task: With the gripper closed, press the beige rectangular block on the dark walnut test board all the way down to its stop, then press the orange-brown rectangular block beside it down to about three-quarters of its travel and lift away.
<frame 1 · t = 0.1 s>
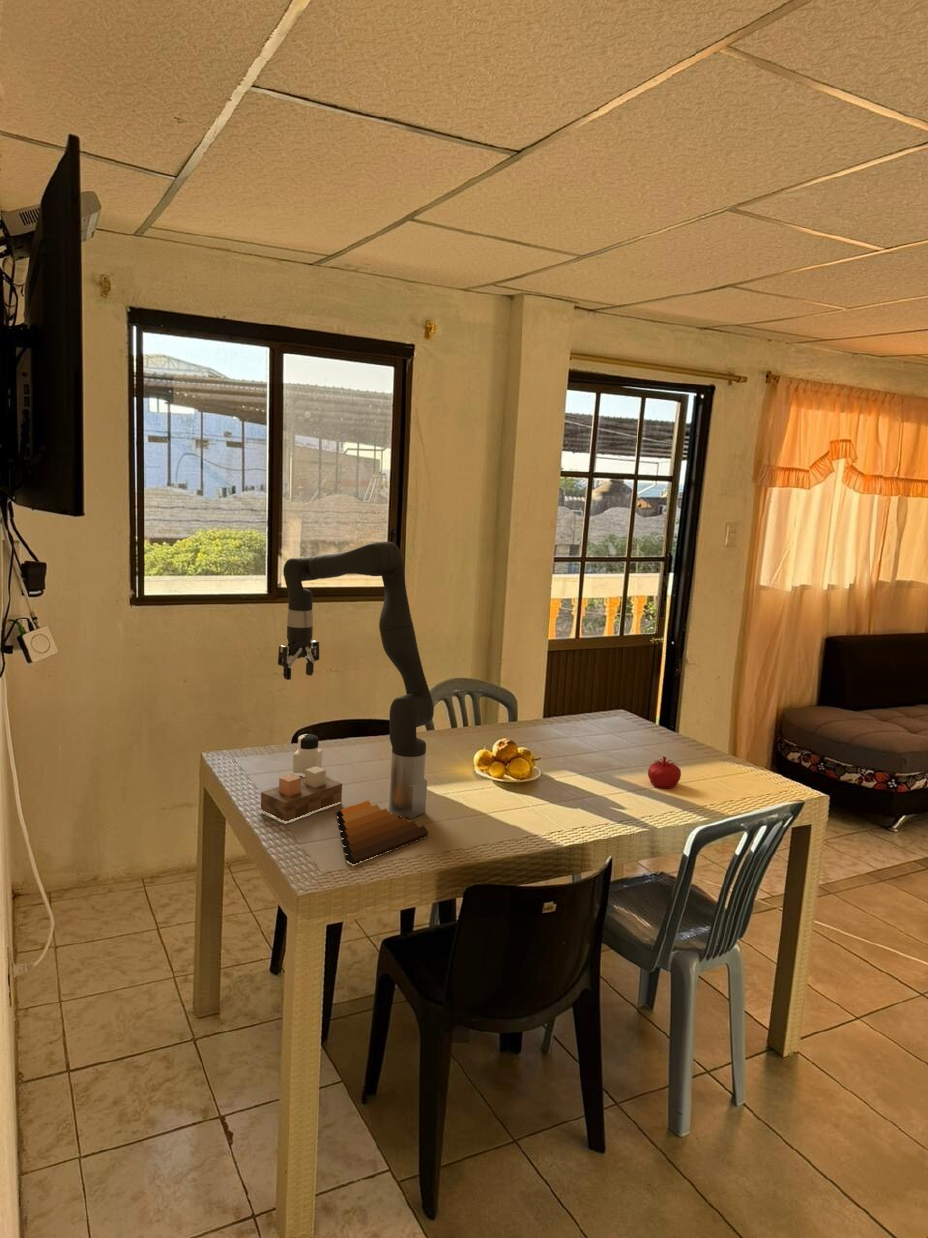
hand: (298, 677, 259), 29 cm above the table, tool pointing down, fingers open, 8 cm apart
pomegranate: (663, 785, 271), on the table
pan flute: (359, 838, 221), on the table
orange-brown rectangular block: (289, 787, 231), point 7 cm above the table, slide at 0.0 cm
medicine bottle: (307, 774, 262), on the table
beige rectangular block: (315, 779, 238), point 7 cm above the table, slide at 0.0 cm
test board: (301, 808, 235), on the table
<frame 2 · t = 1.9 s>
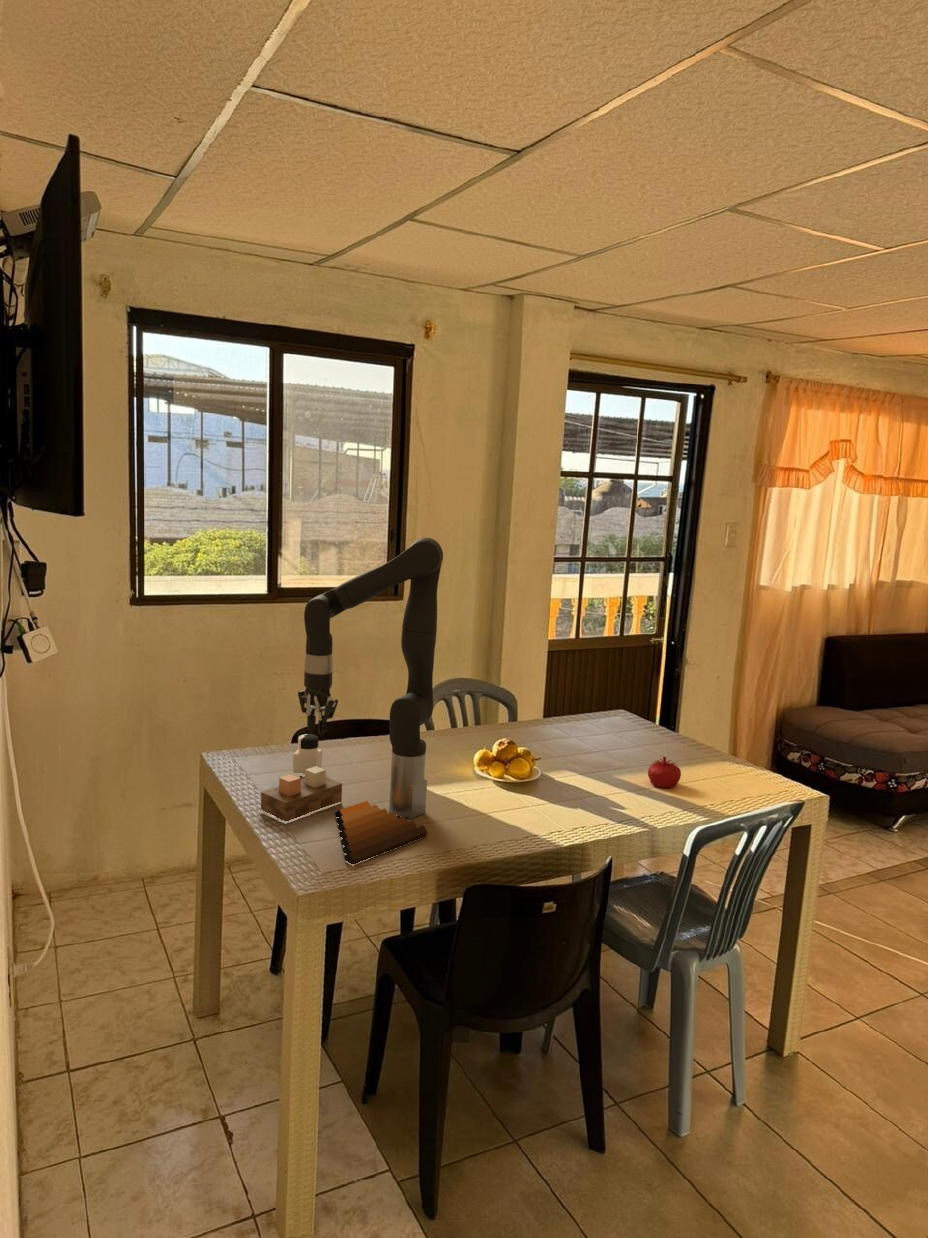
hand: (316, 730, 235), 21 cm above the table, tool pointing down, fingers open, 3 cm apart
nothing on the table moved.
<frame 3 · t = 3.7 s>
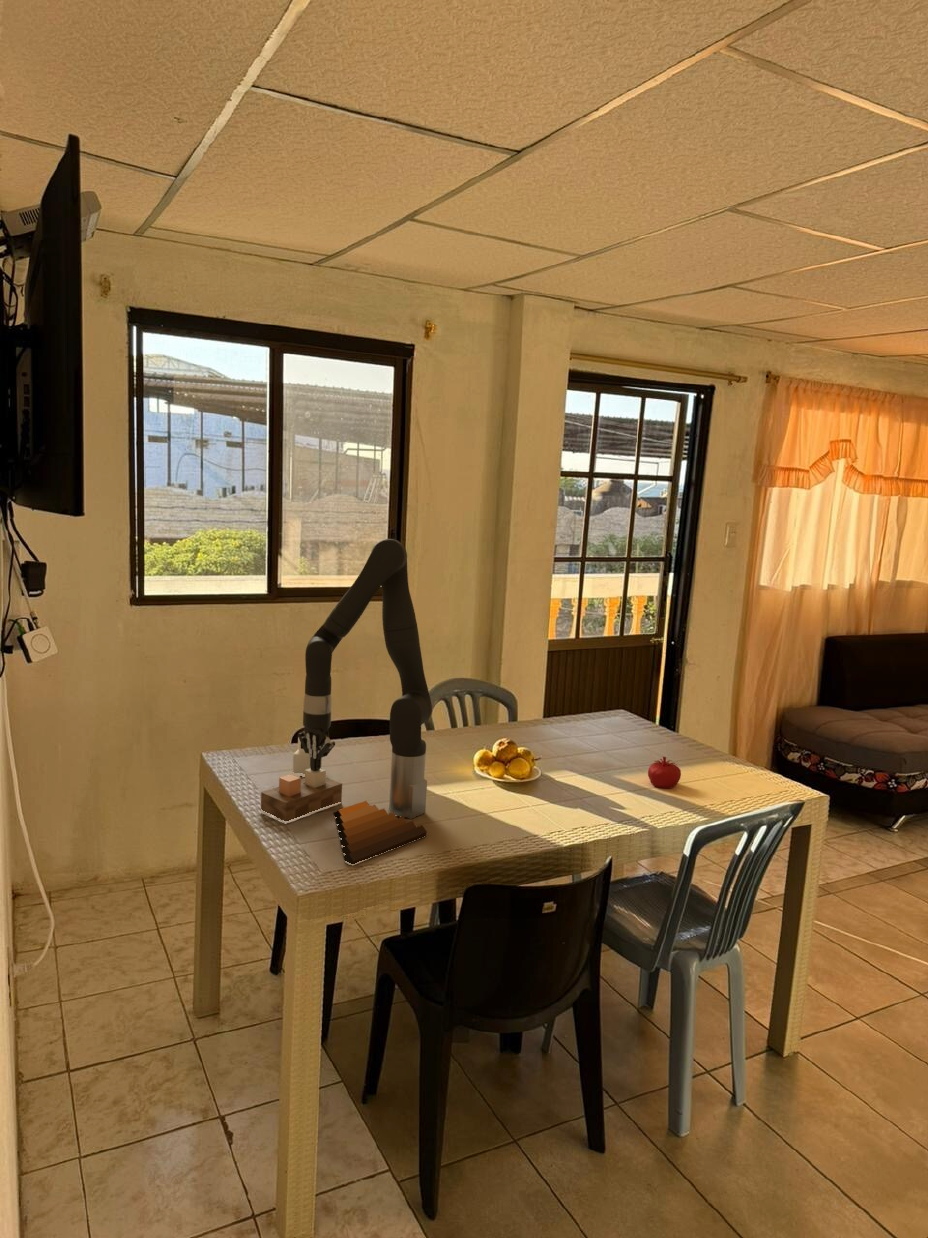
hand: (315, 770, 237), 10 cm above the table, tool pointing down, fingers closed
beige rectangular block: (315, 779, 238), point 7 cm above the table, slide at 0.1 cm, touching gripper
everything else where it was.
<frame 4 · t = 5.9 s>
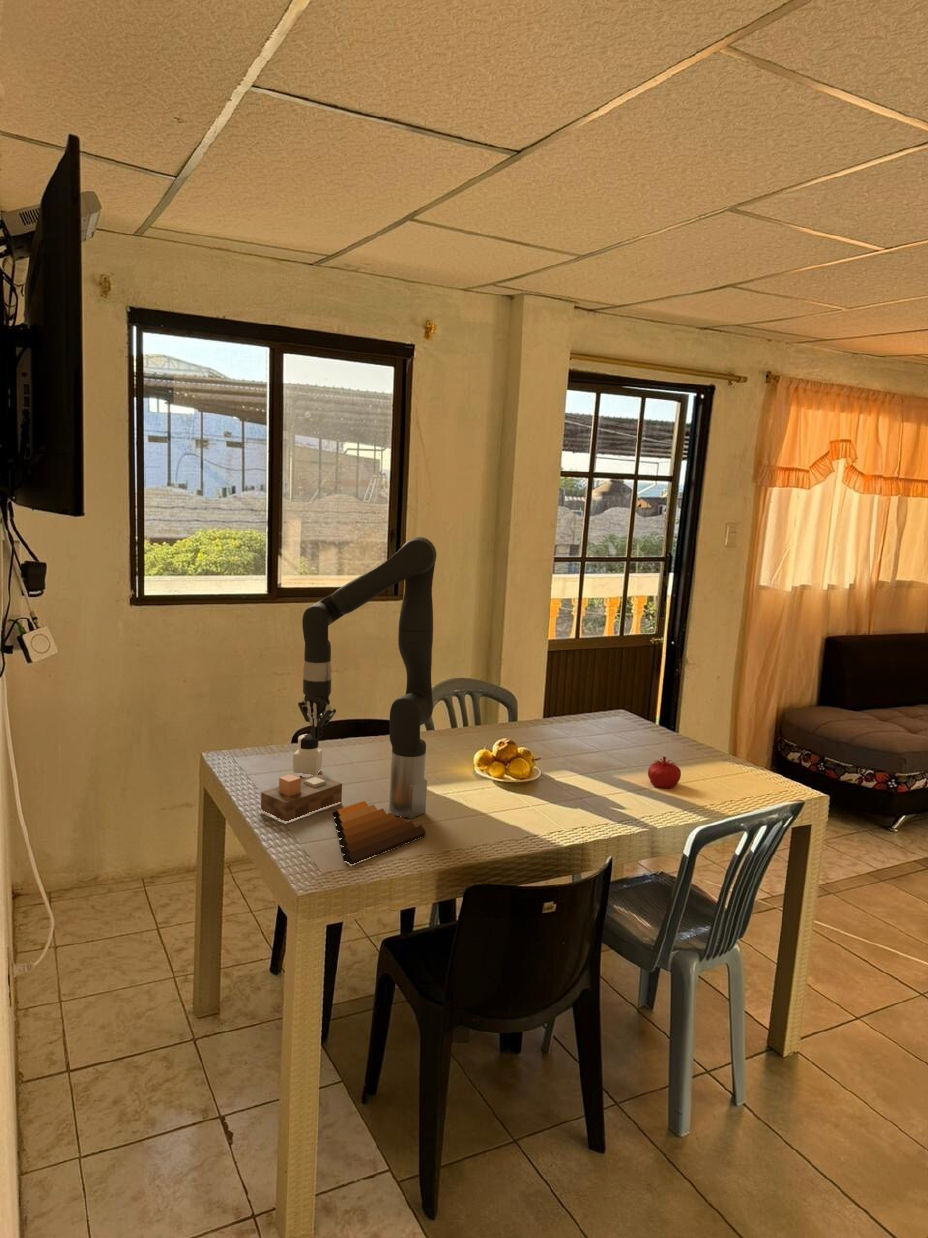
hand: (316, 738, 235), 19 cm above the table, tool pointing down, fingers closed
beige rectangular block: (314, 790, 238), point 4 cm above the table, slide at 3.1 cm
everything else where it was.
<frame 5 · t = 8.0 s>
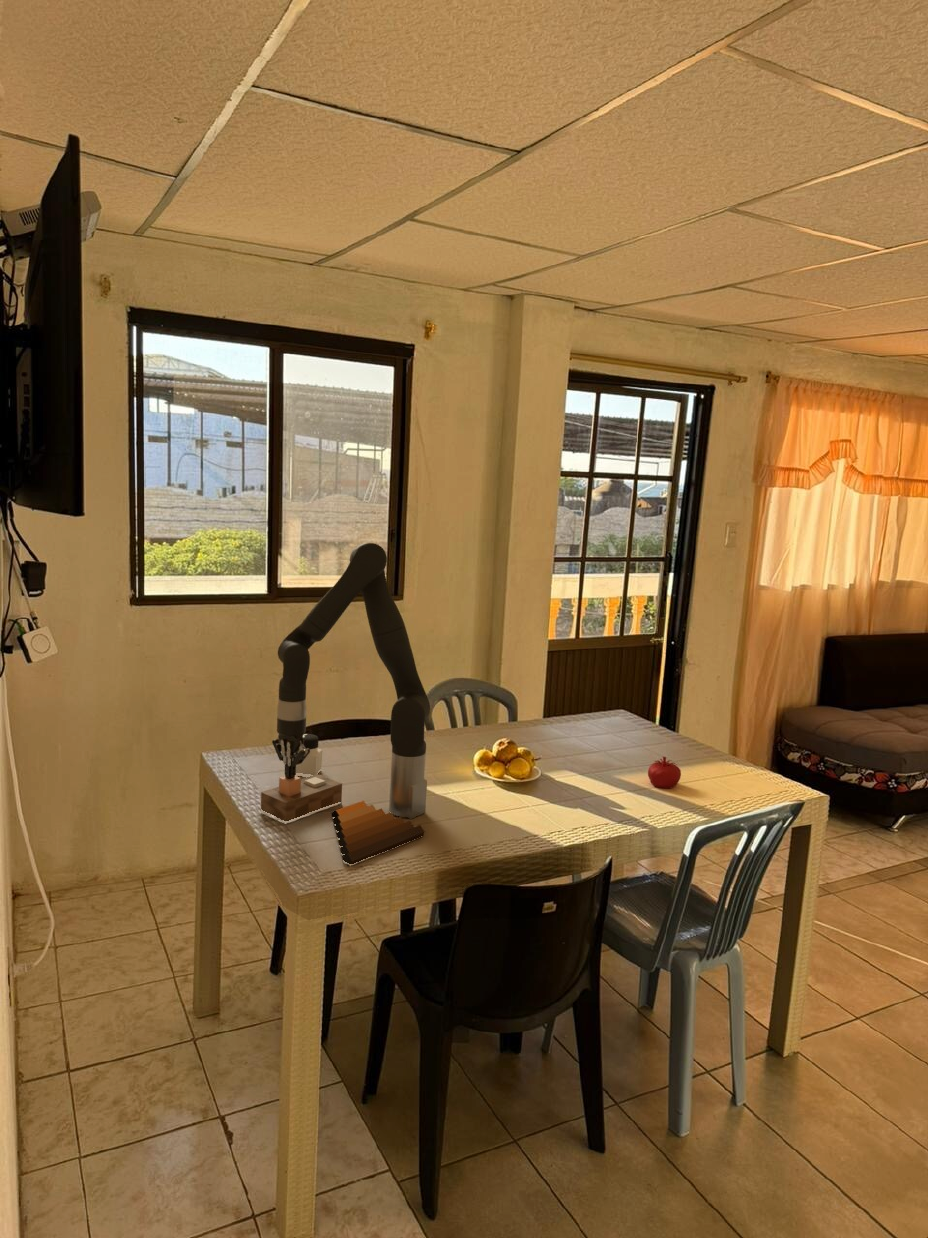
hand: (289, 777, 230), 10 cm above the table, tool pointing down, fingers closed
orange-brown rectangular block: (289, 787, 231), point 7 cm above the table, slide at 0.0 cm, touching gripper
everything else where it was.
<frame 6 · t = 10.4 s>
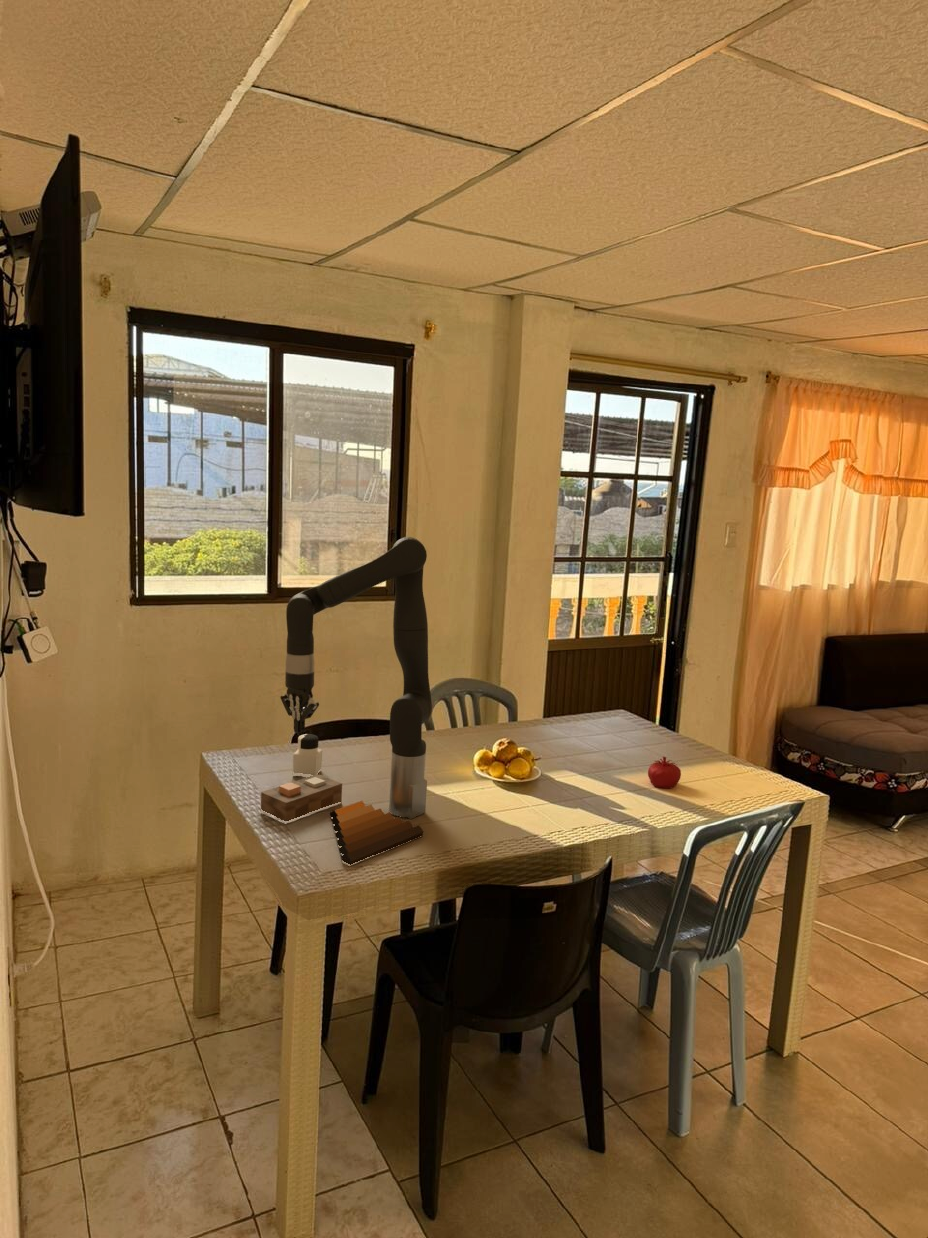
hand: (299, 732, 231), 22 cm above the table, tool pointing down, fingers closed
orange-brown rectangular block: (289, 795, 231), point 5 cm above the table, slide at 2.3 cm
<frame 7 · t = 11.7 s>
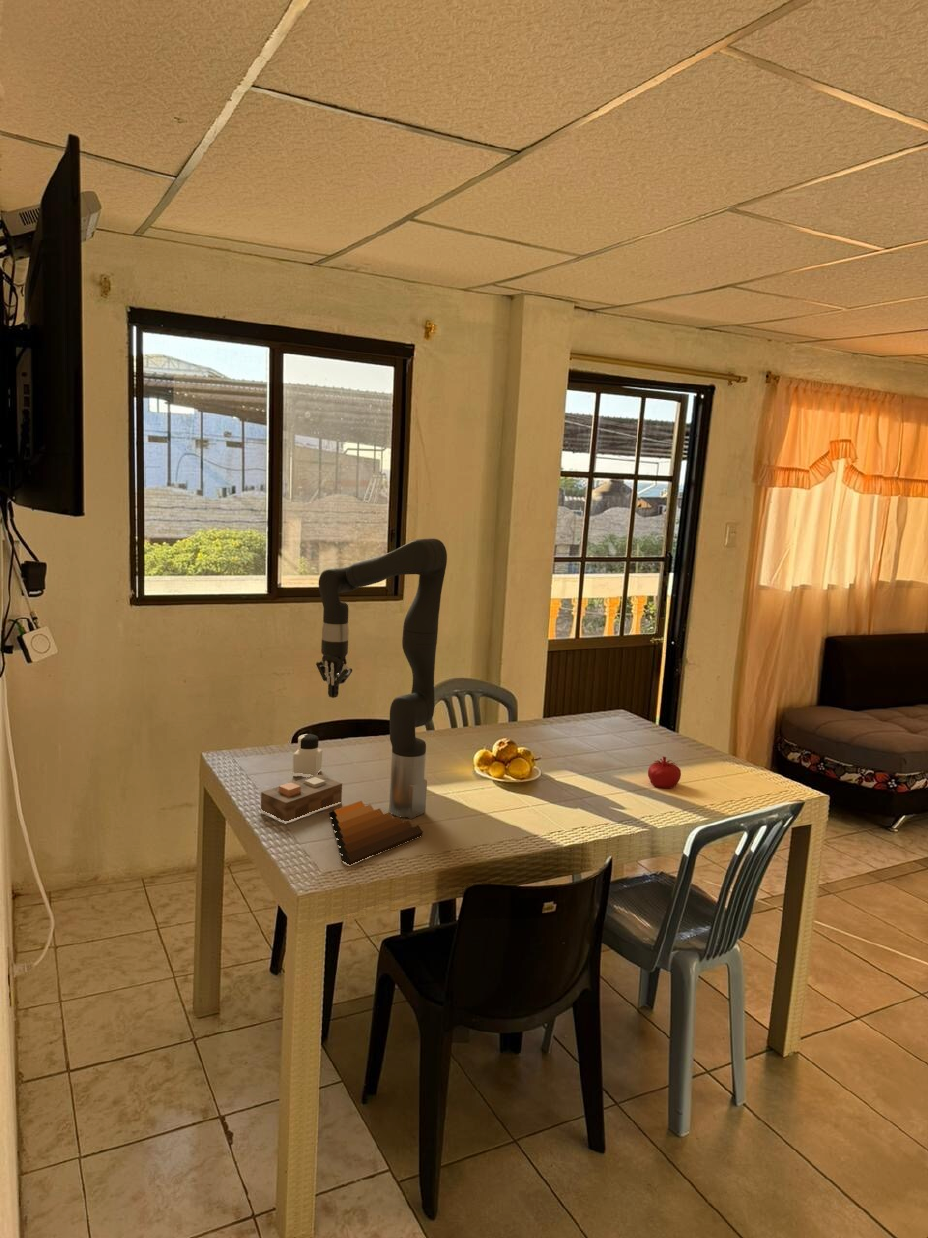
hand: (333, 696, 248), 27 cm above the table, tool pointing down, fingers closed
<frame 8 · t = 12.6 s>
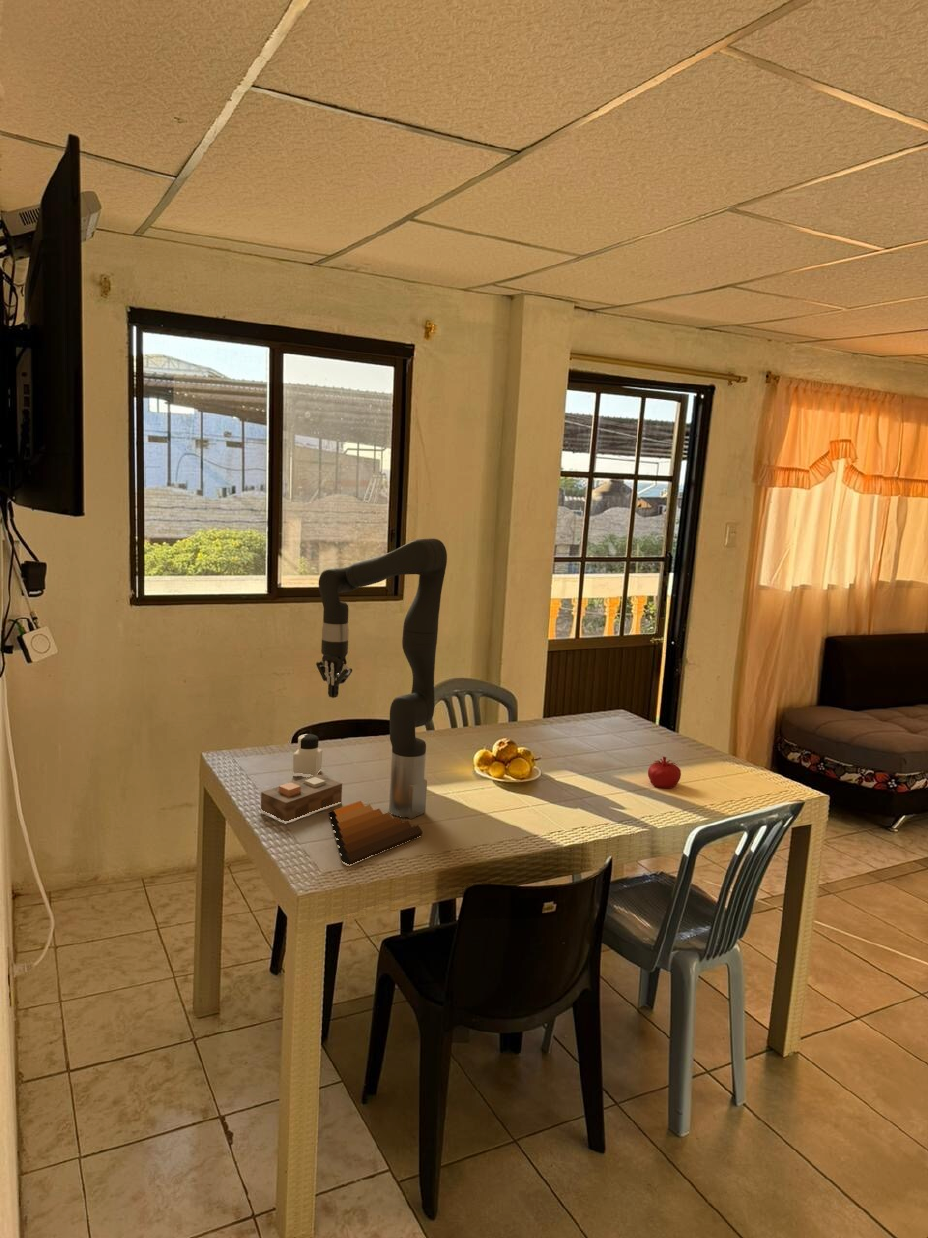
hand: (333, 696, 248), 27 cm above the table, tool pointing down, fingers closed
at the end: beige rectangular block slide at 3.1 cm; orange-brown rectangular block slide at 2.3 cm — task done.
